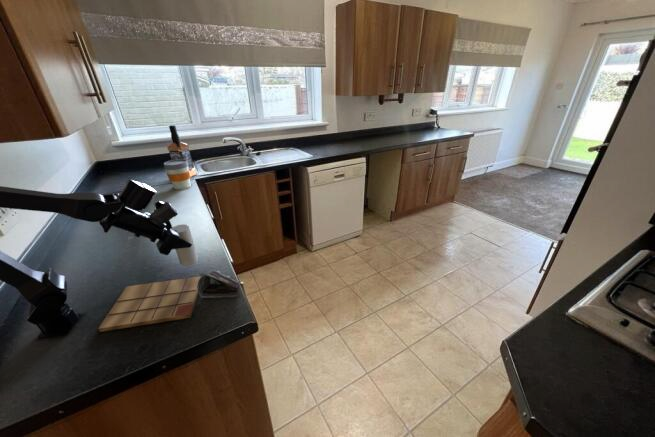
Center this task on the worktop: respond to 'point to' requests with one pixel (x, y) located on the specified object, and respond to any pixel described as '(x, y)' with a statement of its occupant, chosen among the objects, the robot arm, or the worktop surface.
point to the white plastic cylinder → (186, 254)
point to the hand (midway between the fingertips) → (188, 242)
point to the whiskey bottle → (180, 150)
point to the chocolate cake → (217, 285)
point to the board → (152, 304)
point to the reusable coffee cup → (178, 173)
